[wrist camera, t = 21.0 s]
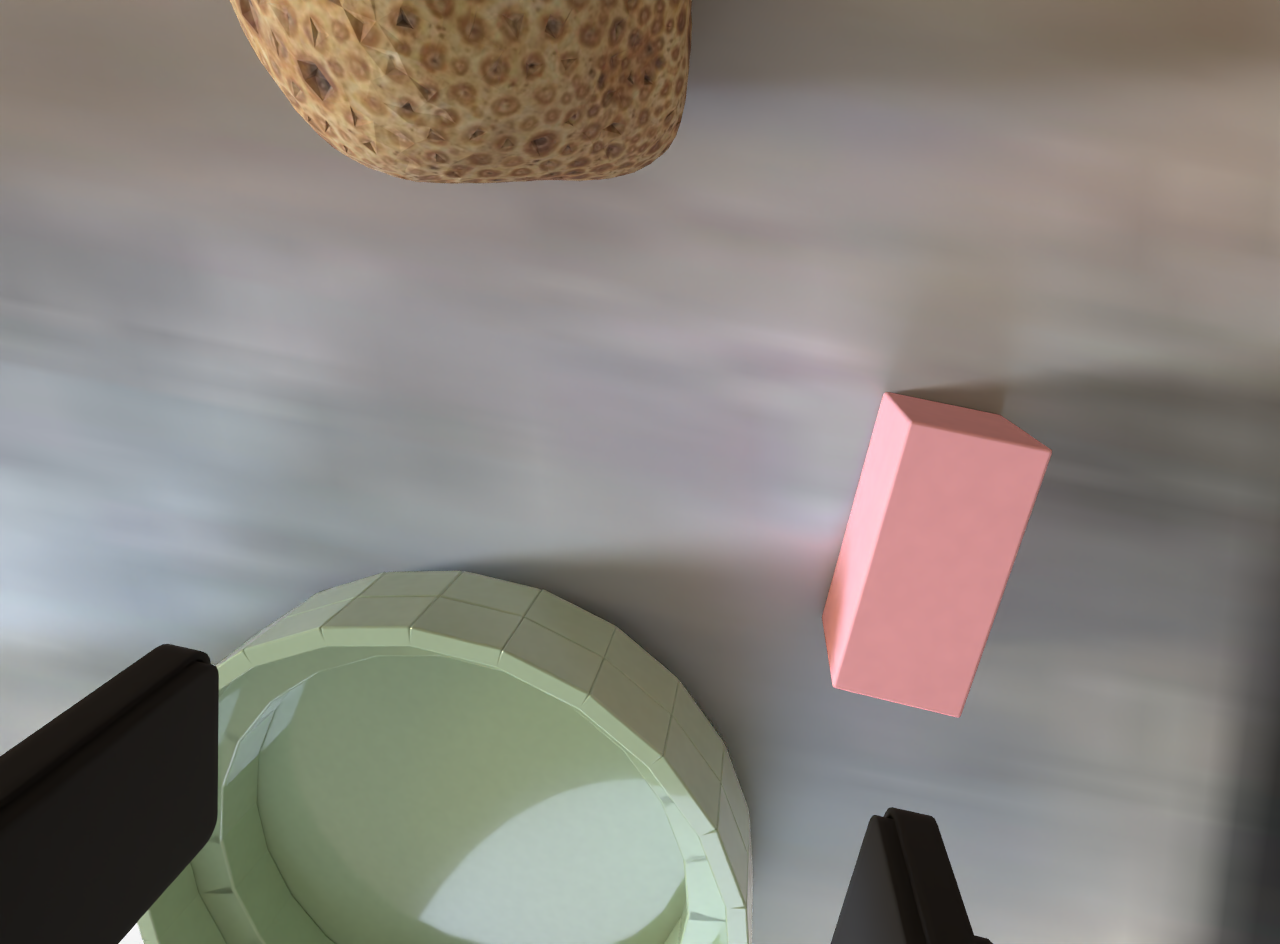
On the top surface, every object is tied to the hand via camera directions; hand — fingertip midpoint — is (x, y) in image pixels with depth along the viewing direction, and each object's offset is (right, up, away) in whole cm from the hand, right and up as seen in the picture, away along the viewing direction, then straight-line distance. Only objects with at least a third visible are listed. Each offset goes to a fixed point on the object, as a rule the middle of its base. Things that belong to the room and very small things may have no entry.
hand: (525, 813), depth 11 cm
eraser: (+9, +3, +11) cm, 15 cm away
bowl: (-4, -7, +17) cm, 19 cm away
